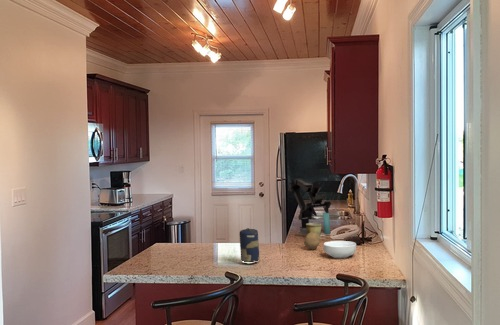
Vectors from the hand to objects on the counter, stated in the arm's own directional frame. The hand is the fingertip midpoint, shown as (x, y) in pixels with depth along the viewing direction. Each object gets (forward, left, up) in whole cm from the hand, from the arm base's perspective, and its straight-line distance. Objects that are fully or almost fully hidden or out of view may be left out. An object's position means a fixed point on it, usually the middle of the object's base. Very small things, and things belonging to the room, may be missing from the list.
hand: (322, 215), depth 299 cm
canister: (+92, -5, -12) cm, 93 cm away
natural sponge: (+54, +14, -12) cm, 57 cm away
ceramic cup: (+23, +3, -12) cm, 26 cm away
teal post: (+4, +4, -12) cm, 13 cm away
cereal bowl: (+66, +34, -12) cm, 75 cm away
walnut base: (+9, -9, -12) cm, 18 cm away
